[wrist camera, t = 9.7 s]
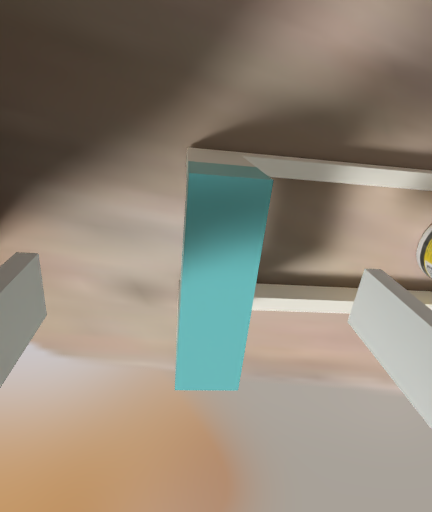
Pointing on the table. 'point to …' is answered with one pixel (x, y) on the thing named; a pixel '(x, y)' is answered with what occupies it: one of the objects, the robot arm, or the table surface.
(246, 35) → the table surface
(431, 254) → the supplement bottle
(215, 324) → the drawer
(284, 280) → the table surface
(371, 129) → the table surface
